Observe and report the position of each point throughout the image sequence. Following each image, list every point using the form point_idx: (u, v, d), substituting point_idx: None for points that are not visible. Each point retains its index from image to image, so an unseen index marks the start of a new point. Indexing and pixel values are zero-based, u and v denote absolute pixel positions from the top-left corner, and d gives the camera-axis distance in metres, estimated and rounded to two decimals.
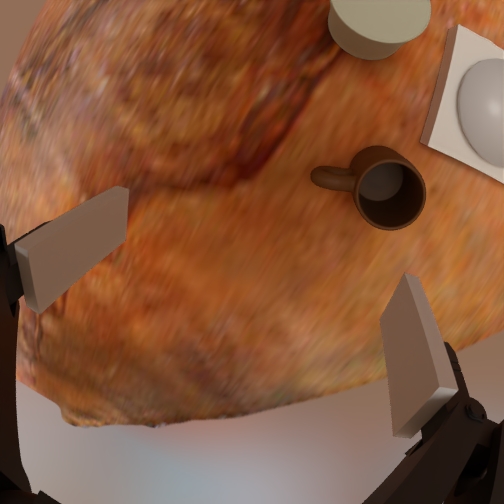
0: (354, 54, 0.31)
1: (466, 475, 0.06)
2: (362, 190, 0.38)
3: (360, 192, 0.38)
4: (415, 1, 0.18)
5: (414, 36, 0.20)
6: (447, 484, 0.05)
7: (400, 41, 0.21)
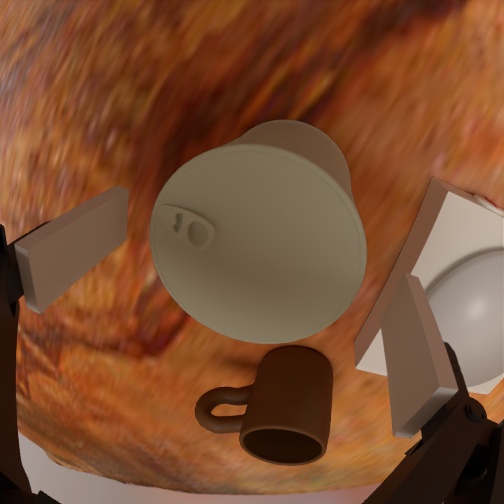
0: None
1: (466, 475, 0.06)
2: None
3: None
4: (329, 261, 0.12)
5: (312, 333, 0.14)
6: (447, 484, 0.05)
7: (283, 342, 0.15)
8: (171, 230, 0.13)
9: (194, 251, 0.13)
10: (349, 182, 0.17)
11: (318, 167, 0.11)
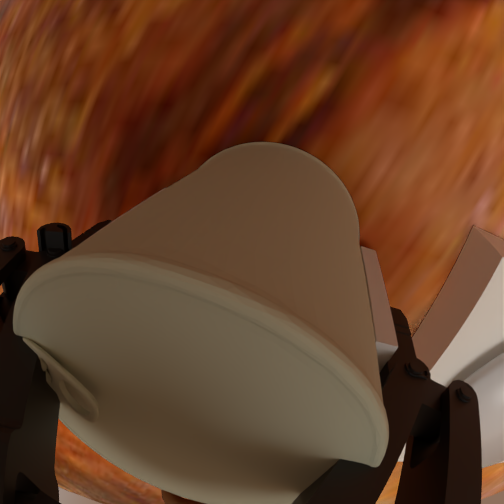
0: None
1: (420, 444, 0.08)
2: None
3: None
4: (312, 459, 0.06)
5: None
6: (397, 445, 0.06)
7: None
8: None
9: (86, 406, 0.07)
10: None
11: (295, 326, 0.04)
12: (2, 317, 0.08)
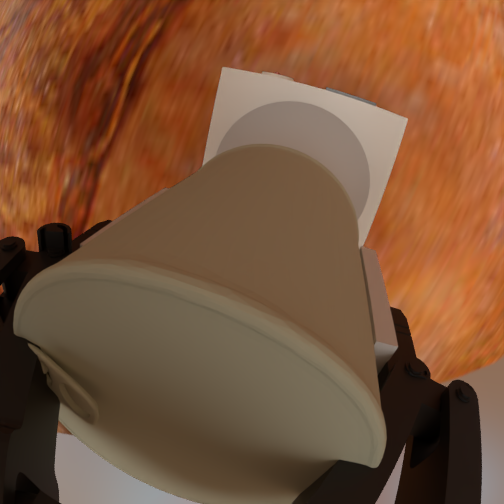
0: None
1: (420, 444, 0.08)
2: None
3: None
4: (311, 462, 0.06)
5: None
6: (397, 445, 0.06)
7: None
8: None
9: (86, 408, 0.07)
10: None
11: (293, 332, 0.04)
12: (2, 317, 0.08)
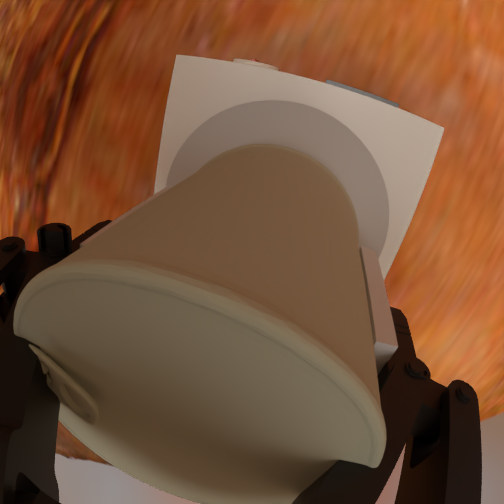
0: None
1: (419, 444, 0.08)
2: None
3: None
4: (311, 461, 0.06)
5: None
6: (397, 445, 0.06)
7: None
8: None
9: (86, 408, 0.07)
10: None
11: (293, 332, 0.04)
12: (2, 317, 0.08)
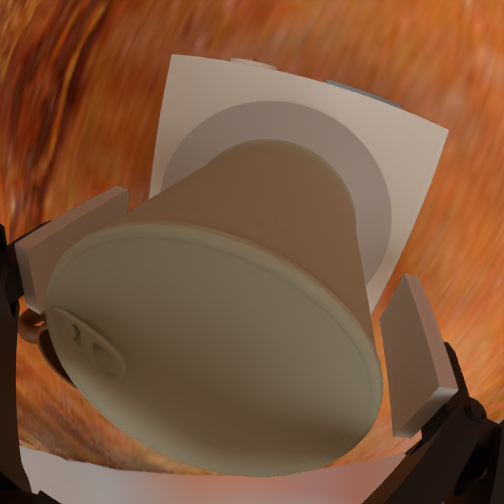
0: None
1: (466, 475, 0.06)
2: None
3: None
4: (317, 410, 0.07)
5: (290, 473, 0.08)
6: (447, 484, 0.05)
7: (249, 476, 0.09)
8: (71, 344, 0.07)
9: (110, 371, 0.08)
10: None
11: (302, 274, 0.05)
12: None
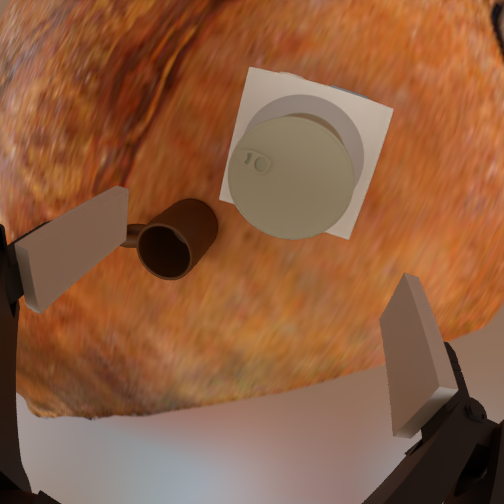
0: None
1: (465, 475, 0.07)
2: (182, 238, 0.46)
3: (180, 239, 0.46)
4: (333, 180, 0.22)
5: (325, 229, 0.23)
6: (447, 484, 0.05)
7: (306, 237, 0.24)
8: (244, 163, 0.22)
9: (256, 177, 0.23)
10: None
11: (326, 128, 0.20)
12: None
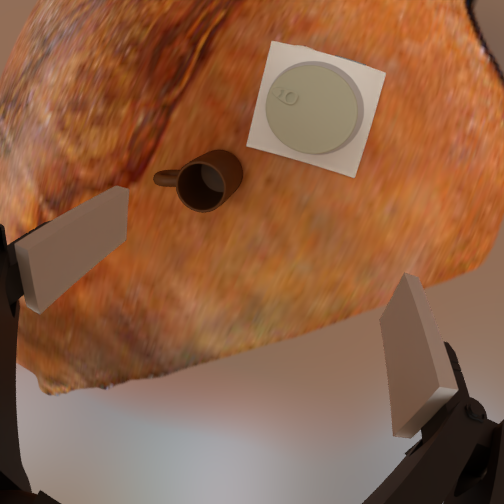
0: None
1: (466, 475, 0.07)
2: (210, 185, 0.52)
3: (209, 186, 0.52)
4: (343, 109, 0.28)
5: (338, 145, 0.30)
6: (447, 484, 0.05)
7: (325, 151, 0.30)
8: (278, 97, 0.29)
9: (286, 107, 0.29)
10: None
11: (336, 73, 0.27)
12: None
